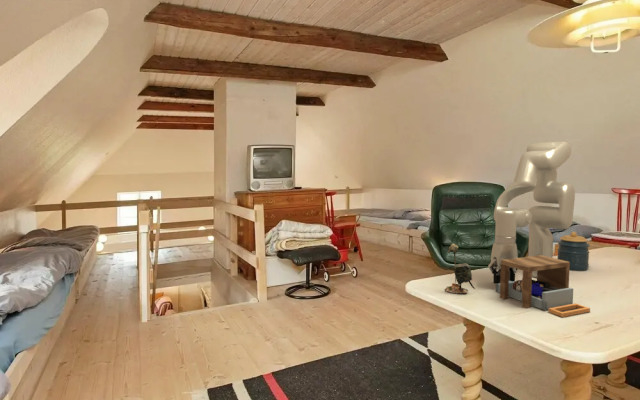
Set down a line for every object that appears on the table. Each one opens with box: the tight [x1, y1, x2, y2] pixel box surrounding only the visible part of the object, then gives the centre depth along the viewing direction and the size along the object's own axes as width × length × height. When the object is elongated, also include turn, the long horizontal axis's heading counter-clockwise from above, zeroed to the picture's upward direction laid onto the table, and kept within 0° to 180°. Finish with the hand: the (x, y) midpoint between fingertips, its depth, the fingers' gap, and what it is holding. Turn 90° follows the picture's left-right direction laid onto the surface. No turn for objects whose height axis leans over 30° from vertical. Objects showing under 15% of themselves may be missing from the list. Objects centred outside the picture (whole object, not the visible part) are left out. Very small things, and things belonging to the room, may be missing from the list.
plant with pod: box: [444, 243, 476, 294], centre depth 151 cm, size 8×11×20 cm
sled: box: [495, 271, 574, 311], centre depth 145 cm, size 13×26×7 cm, turn 20°
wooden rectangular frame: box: [548, 303, 591, 318], centre depth 130 cm, size 13×5×1 cm, turn 110°
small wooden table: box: [499, 255, 570, 309], centre depth 142 cm, size 20×12×15 cm, turn 110°
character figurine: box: [513, 278, 558, 299], centre depth 142 cm, size 8×7×15 cm
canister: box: [556, 231, 591, 272], centre depth 185 cm, size 13×13×18 cm
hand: (504, 282), depth 156 cm, fingers open, 6 cm apart
